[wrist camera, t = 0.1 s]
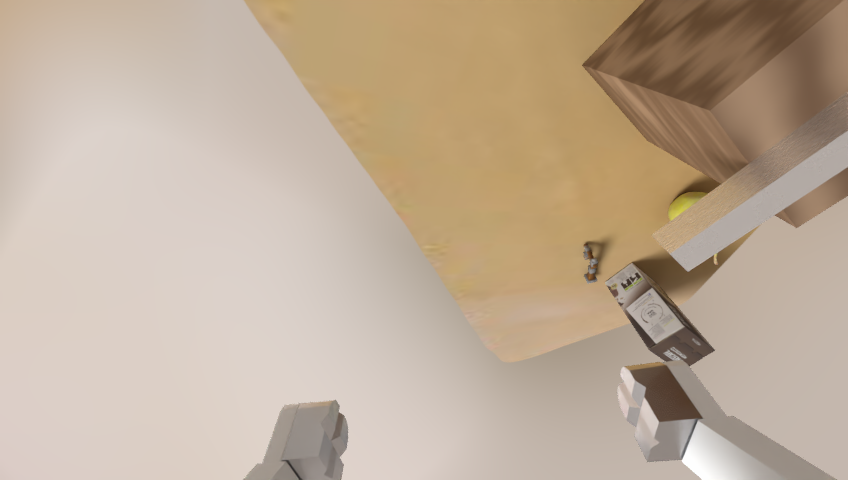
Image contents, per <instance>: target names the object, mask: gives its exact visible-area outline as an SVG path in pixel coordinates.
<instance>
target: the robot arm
mask: <svg viewBox="0 0 848 480" xmlns="http://www.w3.org/2000/svg"><path fill="white" fill-rule="evenodd" d="M620 376H621V378H622V379H623V382H621V383H620V384H619V385H618V392H617V394H618V400H619V404H620V407H621V410H622V412H623V414H624V416H625V418H626V420H627V421H628V422H629V423H631V424H632V425H634V426H635V427H636V432H635V439H636V441H637V442H638V445H639V446H640V448H641V450H642V452H643V454H644V456H645V458H646V460H647V462H654V461H669V460H682V462H683V463H684V464H685V465H686V466H687V467H689V468H690V469H691V470H692V471H693V472H694V473H695V474H697V475H698V476H699V477H700V478H701V479H702V480H837V479H835V478H833V477H832V476H830V475H828V474H827V473H825V472H824V471H822V470H820V469H819V468H817V467H815V466H814V465H812V464H811V463H809V462H807V461H806V460H804V459H802V458H801V457H799V456H797V455H796V454H794V453H793V452H791V451H789V450H788V449H786V448H785V447H783V446H781V445H780V444H778V443H776V442H775V441H773V440H771V439H770V438H768V437H767V436H765V435H763V434H762V433H760V432H758V431H757V430H755V429H754V428H752V427H750V426H749V425H747V424H745V423H744V422H742V421H741V420H739V419H737V418H736V417H734V416H728V417H727V416H726V414H725V413H724V412H723V411H722V409H721V408H720V407H719V405H718V404H717V403H716V401H715V400H714V399H713V397H712V396H711V395H710V393H709V392H708V391H707V390H706V388H705V387H704V385H703V384H702V383H701V381H700V380H699V379H698V377H697V376H696V375H695V374H694V372H693V371H692V370H691V368H690V367H689V366H688V364H687V363H686V362H684V361H683V360H675V361H668V362H655V363H648V364H640V365H632V366H625V367H623V368H622V369H621V374H620ZM347 442H348V426H347V421H346V418H345V416H344V415H342V414H341V413H339V404H338V403H337V401H336V400H331V401H320V402H310V403H299V404H290V405H285V406H284V407H283V409H282V410H281V411H280V414H279V417H278V419H277V422H276V425H275V428H274V431H273V434H272V437H271V439H270V442H269V445H268V448H267V451H266V454H265V456H264V459H263V462H262V463H260V464H257V465H256V466H255V467H254V468H253V469H252V470H251V471H250V472H249V474H248V475H247V476H246V477H245V478H244V479H243V480H341V477H342V472H343V466H344V465H343V463H342V461H341V459H340V456H341V455H342V454H343V453H344V451H345V450H346V448H347Z"/></svg>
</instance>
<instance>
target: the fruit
mask: <svg viewBox="0 0 848 480" xmlns="http://www.w3.org/2000/svg"><path fill="white" fill-rule="evenodd" d="M707 194H708V193H704V192H688V193H684V194H682V195H680V196H679V197H678V198H676V199H675V200H674V201H673V202H672V203H671V205H670V207H669V210H668V215H669V219H670V221H671V220H673V219H674V218H675V217H677V216H678V215H680V214H681V213H682V212H684V211H685V210H686V209H688V208H689V207H690V206H692V205H693V204H695V203H696V202H697V201H699V200H700V199H701V198H703V197H704V196H706V195H707ZM717 254H718V253H716V254H715V255H714V263H715V265H718V261H717Z"/></svg>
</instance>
